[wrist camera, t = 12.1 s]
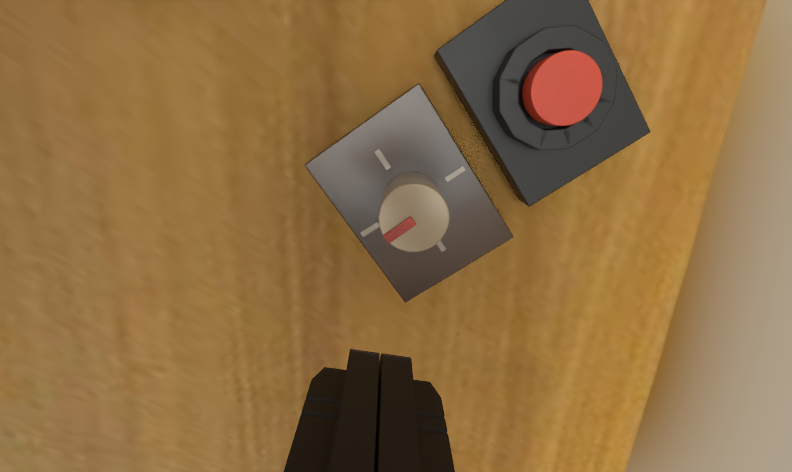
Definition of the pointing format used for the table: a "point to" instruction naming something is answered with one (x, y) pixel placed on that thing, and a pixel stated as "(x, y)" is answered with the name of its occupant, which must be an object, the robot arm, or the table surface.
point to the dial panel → (404, 153)
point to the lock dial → (413, 213)
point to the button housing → (503, 81)
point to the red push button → (562, 88)
